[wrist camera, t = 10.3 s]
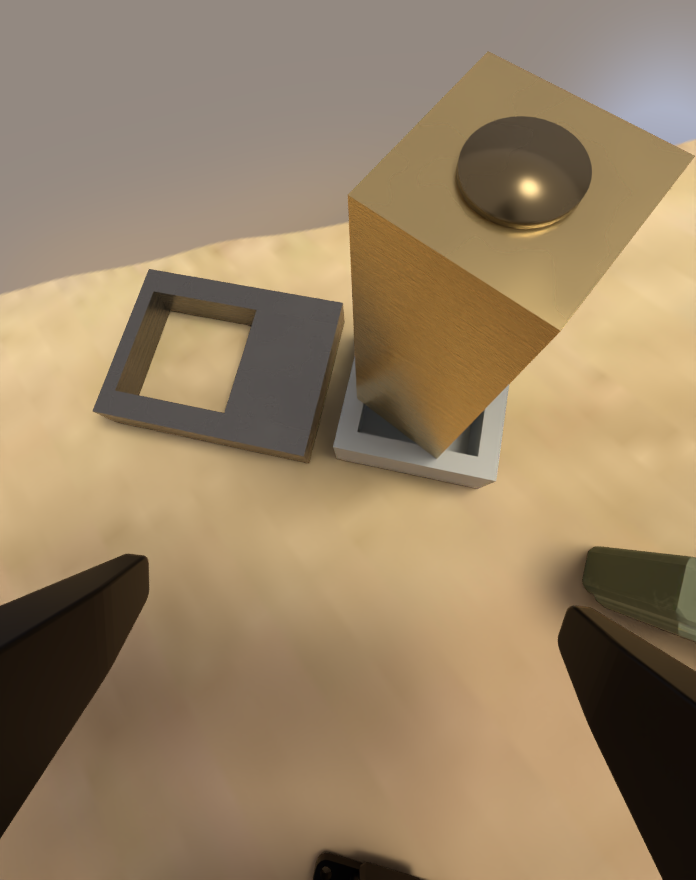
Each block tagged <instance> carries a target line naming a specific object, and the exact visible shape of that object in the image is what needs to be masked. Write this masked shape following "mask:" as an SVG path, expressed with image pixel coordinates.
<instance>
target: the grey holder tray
mask: <svg viewBox="0 0 696 880" xmlns="http://www.w3.org/2000/svg"><path fill="white" fill-rule="evenodd" d="M170 311H175V312H181V313H186V314H192V315H197V316H202V317H208V318H213V319H219V320H224V321H230V322H235V323H240V324H246V325H251V329H250V333H249V336H248V339H247V342H246V345H245V349H244V352H243V355H242V358H241V361H240V365H239V368H238V371H237V374H236V377H235V381H234V384H233V387H232V390H231V393H230V397H229V400H228V403H227V406H226V409H225V413H221V412H216V411H211V410H206V409H202V408H197V407H192V406H187V405H182V404H178V403H173V402H168V401H163V400H158V399H153V398H149V397H144V396H139V393H140V390H141V388H142V385H143V382H144V379H145V377H146V374H147V371H148V369H149V366H150V363H151V361H152V358H153V355H154V353H155V350H156V347H157V344H158V342H159V339H160V336H161V334H162V331H163V328H164V326H165V323H166V320H167V318H168V315H169V312H170ZM343 326H344V310H343V303H340V302H334V301H328V300H323V299H317V298H311V297H306V296H300V295H294V294H288V293H283V292H277V291H271V290H266V289H260V288H254V287H248V286H243V285H237V284H231V283H226V282H220V281H214V280H208V279H203V278H197V277H191V276H186V275H180V274H174V273H169V272H163V271H157V270H151V269H149V270H148V273H147V275H146V278H145V280H144V283H143V285H142V288H141V290H140V293H139V296H138V298H137V301H136V303H135V306H134V308H133V311H132V313H131V316H130V318H129V321H128V323H127V326H126V328H125V331H124V333H123V336H122V338H121V341H120V343H119V346H118V348H117V351H116V353H115V356H114V358H113V361H112V363H111V366H110V369H109V371H108V374H107V376H106V379H105V381H104V384H103V386H102V389H101V391H100V394H99V396H98V399H97V401H96V404H95V406H94V409H93V412H95V413H97V414H100V415H102V416H104V417H106V418H108V419H110V420H113V421H115V422H119V423H123V424H128V425H133V426H137V427H142V428H147V429H151V430H156V431H161V432H165V433H170V434H175V435H179V436H184V437H189V438H193V439H198V440H203V441H207V442H212V443H216V444H221V445H226V446H230V447H235V448H240V449H244V450H249V451H254V452H258V453H263V454H268V455H272V456H277V457H282V458H286V459H291V460H296V461H300V462H305V463H309V462H310V458H311V454H312V450H313V446H314V442H315V438H316V434H317V430H318V426H319V422H320V418H321V414H322V410H323V406H324V402H325V398H326V394H327V390H328V386H329V382H330V378H331V374H332V370H333V366H334V362H335V358H336V354H337V350H338V346H339V342H340V338H341V334H342V330H343Z"/></svg>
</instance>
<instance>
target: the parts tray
mask: <svg viewBox="0 0 696 880" xmlns="http://www.w3.org/2000/svg"><path fill="white" fill-rule="evenodd" d="M508 389H509V385H508V386H507V387H506V388H505V389H504V390H503V391H502V392H501V393H500V394H499V395H498V396H497V397H496V398H495V399H494V400H493V401H492V402H491V403H490V404H489V405H488V407H487V408H486V409H485V410H484V411H483V412H482V413H481V414H480V415H479V416H478V417H477V418H476V419H475V420H474V421H473V422H472V423H471V424H470V425H469V426H468V427H467V428H466V429H465V430H464V431H463V432H462V433H461V434H460V435H459V436H458V438H457V439H456V440H455V441H454V442H453V443H452V444H451V445H450V446H449V447H448V448H447V449H446V450H445V451H444V452H443V453H442V454H441V455H440V456H439V457H438V458H437V459H436V458H435V457H433V456H432V455H431V454H429V453H428V452H427V451H426V450H424V449H423V448H422V447H420V446H419V445H418V444H416V443H415V442H414V441H412V440H411V439H410V438H408V437H407V436H406V435H404V434H403V433H402V432H401V431H399V430H398V429H397V428H395V427H394V426H393V425H391V424H390V423H389V422H387V421H386V420H385V419H383V418H382V417H381V416H379V415H378V414H377V413H376V412H374V411H373V410H372V409H370V408H369V407H368V406H366V405H365V404H364V403H362V402H361V401H360V400H358V399H357V390H356V367H355V357H354V361H353V365H352V369H351V373H350V378H349V382H348V386H347V390H346V394H345V399H344V403H343V407H342V411H341V415H340V420H339V424H338V428H337V432H336V436H335V441H334V445H333V448H334V451H335V454H336V457H337V459H341V460H345V461H350V462H355V463H359V464H364V465H369V466H373V467H378V468H383V469H388V470H392V471H397V472H402V473H406V474H411V475H416V476H421V477H425V478H430V479H435V480H439V481H444V482H449V483H453V484H458V485H463V486H468V487H472V488H477V489H478V488H481V487H483V486H486V485H488V484H491V483H493V482H496V479H497V472H498V464H499V457H500V449H501V441H502V434H503V426H504V419H505V411H506V404H507V396H508Z"/></svg>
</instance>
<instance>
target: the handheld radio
mask: <svg viewBox="0 0 696 880" xmlns="http://www.w3.org/2000/svg"><path fill="white" fill-rule="evenodd" d="M582 582H583V585H584V587H585V589H586V590H587V591H588V592H590V593H593V594H594V596H595V598H596V600H597V601H598V602H599V603H600V604H602V605H603V606H604V607H605V608H608V609H610V610H613V611H616V612H618V613H621V614H623V615H626V616H629V617H631V618H634V619H636V620H639V621H642V622H644V623H647V624H649V625H652V626H655V627H657V628H660V629H662V630H665V631H668V632H670V633H673V634H676V635H678V636H681V637H683V638H686V639H689V640H691V641H694V642H696V558H695V557H689V556H680V555H671V554H662V553H654V552H645V551H636V550H627V549H618V548H609V547H593V548H592V549H591V550H590V551H588V556H587V560H586V565H585V570H584V575H583V579H582Z"/></svg>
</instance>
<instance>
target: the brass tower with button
mask: <svg viewBox="0 0 696 880" xmlns="http://www.w3.org/2000/svg"><path fill="white" fill-rule="evenodd" d="M694 157H695V156H694V155H692V154H690V153H688V152H686V151H684V150H682V149H680V148H678V147H676V146H674V145H672V144H670V143H668V142H666V141H664V140H662V139H660V138H658V137H656V136H655V135H653V134H650V133H648V132H647V131H645V130H643V129H641V128H638V127H637V126H635V125H633V124H631V123H629V122H627V121H625V120H623V119H621V118H619V117H617V116H615V115H613V114H611V113H609V112H607V111H605V110H603V109H601V108H599V107H597V106H595V105H593V104H591V103H589V102H587V101H585V100H583V99H581V98H579V97H577V96H575V95H573V94H571V93H570V92H568V91H566V90H564V89H562V88H559V87H558V86H556V85H554V84H552V83H550V82H548V81H546V80H544V79H542V78H540V77H538V76H536V75H534V74H532V73H530V72H528V71H526V70H524V69H522V68H520V67H518V66H516V65H514V64H512V63H510V62H508V61H506V60H504V59H502V58H500V57H498V56H496V55H494V54H492V53H490V52H487V53H486V54H485V55H484V56H483V57H482V58H481V59H480V60H479V61H478V62H477V63H476V64H475V65H474V66H473V67H472V68H471V69H470V70H469V71H468V72H467V73H466V74H465V76H464V77H463V78H462V79H461V80H460V81H459V82H458V83H457V84H456V85H455V86H454V87H453V88H452V89H451V90H450V91H449V92H448V93H447V94H446V95H445V96H444V97H443V98H442V99H441V100H440V101H439V102H438V103H437V104H436V105H435V106H434V107H433V108H432V109H431V110H430V111H429V112H428V113H427V114H426V115H425V116H424V117H423V118H422V120H421V121H420V122H419V123H418V124H417V125H416V126H415V127H414V128H413V129H412V130H411V131H410V132H409V133H408V134H407V135H406V136H405V137H404V138H403V139H402V140H401V141H400V142H399V143H398V144H397V145H396V146H395V147H394V148H393V149H392V150H391V152H389V153H388V154H387V155H386V156H385V157H384V158H383V159H382V160H381V162H379V164H378V165H377V166H376V167H375V168H374V169H373V170H372V171H371V172H370V173H369V174H368V175H367V176H366V177H365V178H364V179H363V180H362V181H361V182H360V183H359V184H358V185H357V186H356V187H355V188H354V189H353V190H352V191H351V192H350V193H349V194H348V210H349V232H350V255H351V277H352V300H353V322H354V345H355V367H356V390H357V399H358V400H360V401H361V402H362V403H364V404H365V405H366V406H368V407H369V408H370V409H372V410H373V411H374V412H376V413H377V414H378V415H379V416H381V417H382V418H383V419H385V420H386V421H387V422H389V423H390V424H391V425H393V426H394V427H395V428H397V429H398V430H399V431H401V432H402V433H403V434H404V435H406V436H407V437H408V438H410V439H411V440H412V441H414V442H415V443H416V444H418V445H419V446H420V447H422V448H423V449H424V450H426V451H427V452H428V453H429V454H431V455H432V456H433V457H435V458H436V459H437V458H438V457H439V456H440V455H441V454H442V453H443V452H444V451H445V450H446V449H447V448H448V447H449V446H450V445H451V444H452V443H453V442H454V441H455V440H456V439H457V438H458V436H459V435H460V434H461V433H462V432H463V431H464V430H465V429H466V428H467V427H468V426H469V425H470V424H471V423H472V422H473V421H474V420H475V419H476V418H477V417H478V416H479V415H480V414H481V413H482V412H483V411H484V410H485V409H486V408H487V407H488V405H489V404H490V403H491V402H492V401H493V400H494V399H495V398H496V397H497V396H498V395H499V394H500V393H501V392H502V391H503V390H504V389H505V388H506V387H507V386H508V385H509V384H510V383H511V382H512V381H513V380H514V379H515V378H516V377H517V376H518V375H519V373H520V372H521V371H522V370H523V369H524V368H525V367H526V366H527V365H528V364H529V363H530V362H531V361H532V360H533V359H534V358H535V357H536V356H537V355H538V354H539V353H540V352H541V351H542V350H543V349H544V348H545V347H546V346H547V345H548V344H549V343H550V341H551V340H552V339H553V338H554V337H555V336H556V335H557V334H558V333H559V332H560V331H561V330H562V329H563V327H564V326H565V325H566V323H567V322H568V321H569V319H570V318H571V317H572V316H573V314H574V313H575V312H576V310H577V309H578V308H579V306H580V305H581V304H582V303H583V301H584V300H585V299H586V297H587V296H588V295H589V293H590V292H591V291H592V290H593V288H594V287H595V286H596V284H597V283H598V282H599V280H600V279H601V278H602V277H603V275H604V274H605V273H606V271H607V270H608V269H609V267H610V266H611V265H612V264H613V262H614V261H615V260H616V258H617V257H618V256H619V254H620V253H621V252H622V250H623V249H624V248H625V247H626V245H627V244H628V243H629V241H630V240H631V239H632V237H633V236H634V235H635V234H636V232H637V231H638V230H639V228H640V227H641V226H642V224H643V223H644V222H645V221H646V219H647V218H648V217H649V215H650V214H651V213H652V211H653V210H654V209H655V208H656V206H657V205H658V204H659V202H660V201H661V200H662V198H663V197H664V196H665V195H666V193H667V192H668V191H669V189H670V188H671V187H672V185H673V184H674V183H675V181H676V180H677V179H678V178H679V176H680V175H681V174H682V172H683V171H684V170H685V168H686V167H687V166H688V165H689V163H690V162H691V161H692V159H693V158H694Z"/></svg>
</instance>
